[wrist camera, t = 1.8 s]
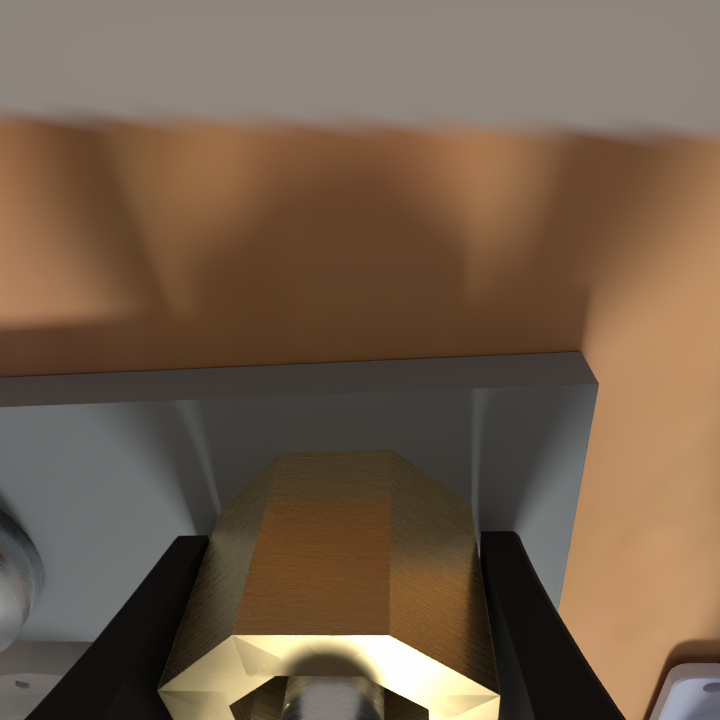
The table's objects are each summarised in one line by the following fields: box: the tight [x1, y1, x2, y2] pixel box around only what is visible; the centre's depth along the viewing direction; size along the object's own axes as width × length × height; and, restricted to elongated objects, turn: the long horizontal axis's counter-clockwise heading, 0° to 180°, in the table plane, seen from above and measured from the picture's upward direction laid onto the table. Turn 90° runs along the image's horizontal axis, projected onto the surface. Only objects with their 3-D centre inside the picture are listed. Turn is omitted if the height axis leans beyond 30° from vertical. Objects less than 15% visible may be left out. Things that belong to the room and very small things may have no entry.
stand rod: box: [281, 676, 384, 720], centre depth 9 cm, size 2×2×5 cm
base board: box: [0, 352, 599, 642], centre depth 12 cm, size 20×8×1 cm, turn 95°
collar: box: [157, 450, 500, 720], centre depth 10 cm, size 5×5×4 cm
